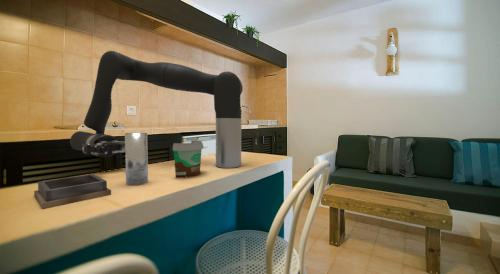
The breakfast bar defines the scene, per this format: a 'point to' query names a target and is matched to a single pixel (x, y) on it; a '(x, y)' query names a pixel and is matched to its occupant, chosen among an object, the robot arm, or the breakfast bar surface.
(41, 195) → the holder
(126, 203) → the breakfast bar surface
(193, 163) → the food container
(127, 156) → the silver tall shiny block
